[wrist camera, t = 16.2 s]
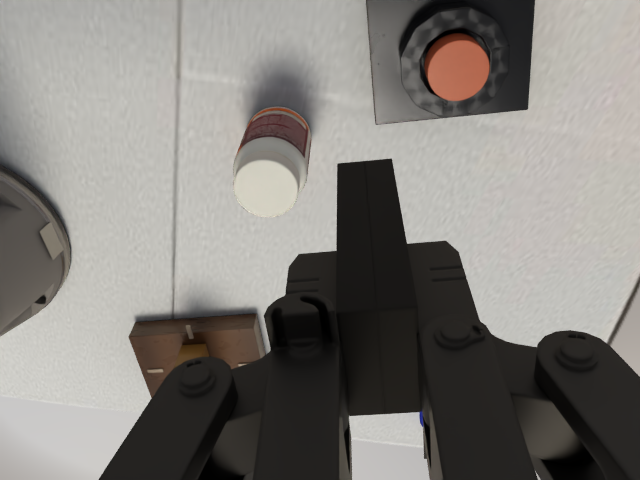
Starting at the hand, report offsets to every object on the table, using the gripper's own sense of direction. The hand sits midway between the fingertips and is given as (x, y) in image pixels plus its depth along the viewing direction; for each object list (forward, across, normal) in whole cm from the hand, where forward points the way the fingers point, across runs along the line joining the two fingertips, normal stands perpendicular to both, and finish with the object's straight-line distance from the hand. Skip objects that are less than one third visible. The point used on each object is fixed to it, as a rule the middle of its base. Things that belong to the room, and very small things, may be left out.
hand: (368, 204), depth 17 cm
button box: (+25, +6, -3) cm, 26 cm away
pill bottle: (+26, -6, -8) cm, 28 cm away
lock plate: (+26, -16, -28) cm, 41 cm away
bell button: (+22, +6, -3) cm, 23 cm away
